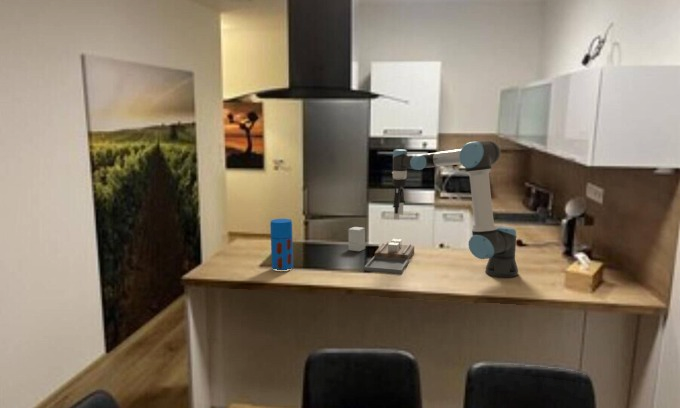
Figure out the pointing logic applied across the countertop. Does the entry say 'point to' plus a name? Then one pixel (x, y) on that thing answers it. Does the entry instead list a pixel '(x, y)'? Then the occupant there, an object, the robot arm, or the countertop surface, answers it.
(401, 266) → the tray
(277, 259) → the thermos
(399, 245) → the white squarish block
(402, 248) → the slot board
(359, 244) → the supplement box
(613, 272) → the countertop surface
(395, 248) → the beige block
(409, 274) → the countertop surface
